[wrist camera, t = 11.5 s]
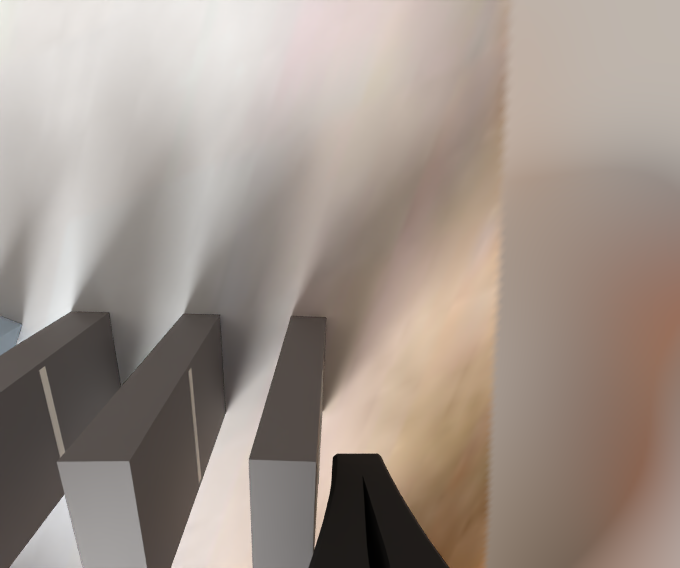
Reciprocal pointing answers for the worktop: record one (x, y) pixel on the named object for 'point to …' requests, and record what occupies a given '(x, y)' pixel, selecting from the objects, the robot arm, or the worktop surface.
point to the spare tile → (8, 334)
